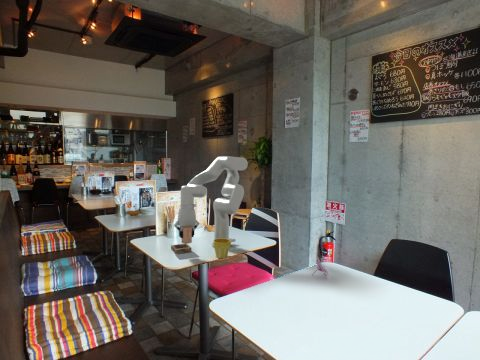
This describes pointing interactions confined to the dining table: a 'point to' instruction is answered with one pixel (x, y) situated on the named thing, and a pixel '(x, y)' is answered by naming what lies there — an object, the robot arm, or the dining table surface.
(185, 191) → the robot arm
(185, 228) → the brown wooden block
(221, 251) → the plant pot
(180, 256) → the mat
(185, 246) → the holder
